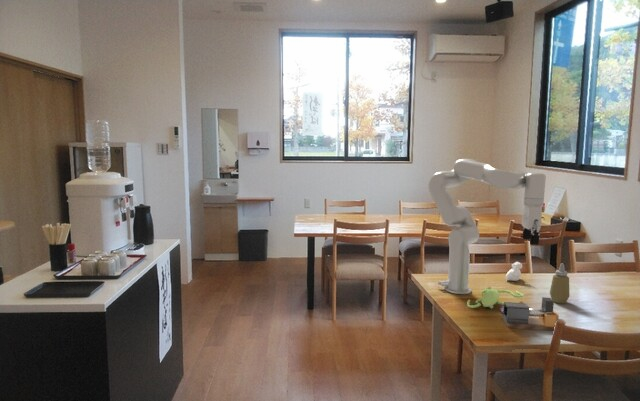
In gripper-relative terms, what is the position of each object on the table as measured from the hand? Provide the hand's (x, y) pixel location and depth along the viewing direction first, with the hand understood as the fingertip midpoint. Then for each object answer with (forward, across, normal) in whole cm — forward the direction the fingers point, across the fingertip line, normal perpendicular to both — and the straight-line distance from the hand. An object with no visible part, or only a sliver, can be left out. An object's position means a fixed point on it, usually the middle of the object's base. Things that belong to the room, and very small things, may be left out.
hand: (530, 241), depth 180 cm
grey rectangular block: (+27, +17, -1) cm, 32 cm away
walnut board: (+30, +17, -3) cm, 35 cm away
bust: (+31, -43, +8) cm, 53 cm away
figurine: (+31, -5, -11) cm, 33 cm away
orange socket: (+29, +17, +3) cm, 34 cm away
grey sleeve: (+29, +17, -9) cm, 35 cm away
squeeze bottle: (+31, -13, +19) cm, 38 cm away
